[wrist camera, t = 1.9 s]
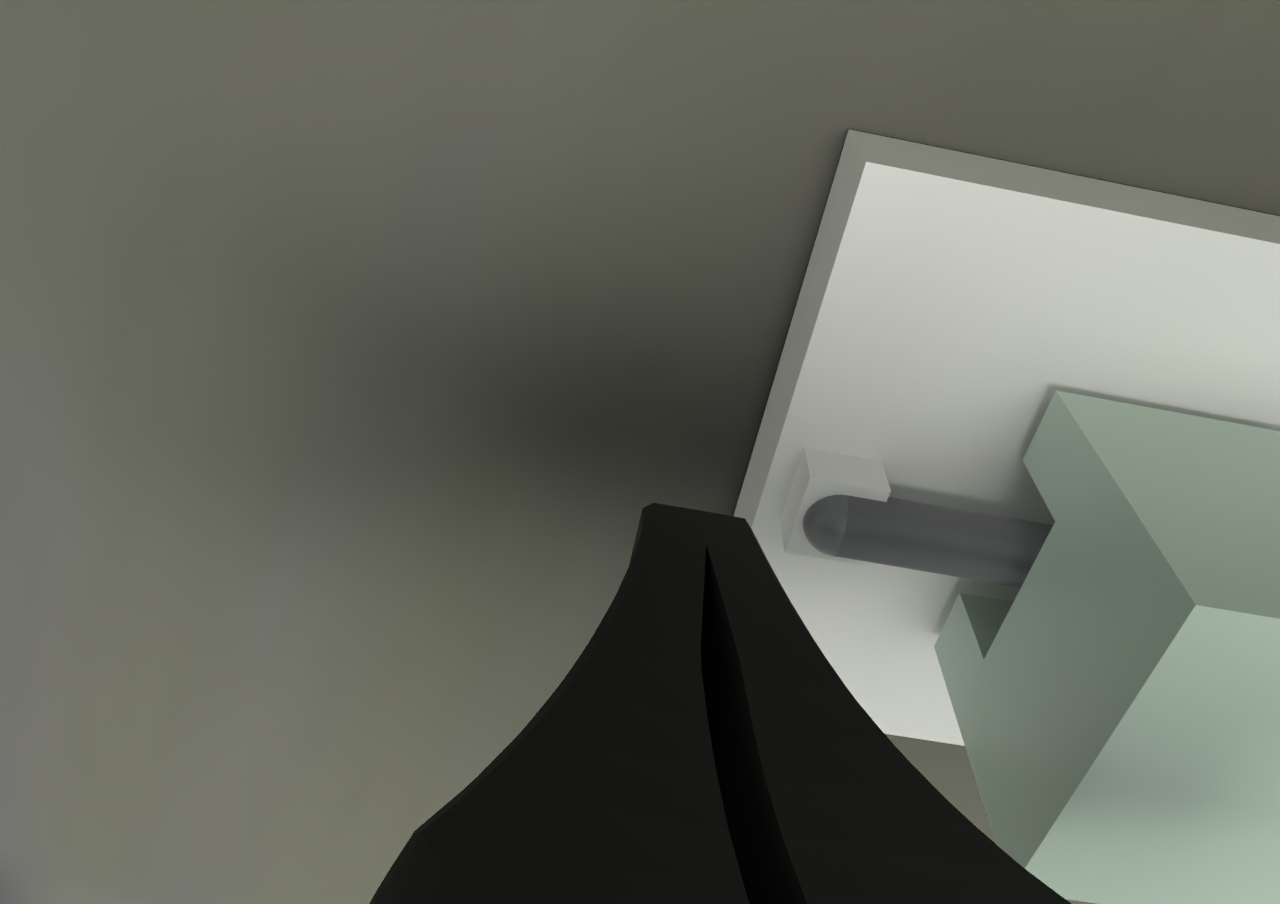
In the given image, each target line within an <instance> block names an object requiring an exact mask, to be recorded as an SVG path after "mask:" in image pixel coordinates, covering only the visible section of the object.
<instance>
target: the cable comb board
mask: <svg viewBox="0 0 1280 904" xmlns="http://www.w3.org/2000/svg"><path fill="white" fill-rule="evenodd" d="M1056 390H1057V391H1063V392H1068V393H1074V394H1079V395H1085V396H1090V397H1095V398H1101V399H1106V400H1112V401H1117V402H1123V403H1128V404H1134V405H1139V406H1144V407H1150V408H1155V409H1161V410H1166V411H1172V412H1177V413H1183V414H1188V415H1193V416H1199V417H1204V418H1210V419H1215V420H1221V421H1226V422H1232V423H1237V424H1242V425H1248V426H1253V427H1259V428H1264V429H1270V430H1275V431H1280V216H1276V215H1271V214H1266V213H1261V212H1256V211H1251V210H1246V209H1241V208H1236V207H1231V206H1226V205H1221V204H1216V203H1211V202H1206V201H1202V200H1197V199H1192V198H1187V197H1182V196H1177V195H1172V194H1167V193H1162V192H1157V191H1152V190H1147V189H1142V188H1137V187H1132V186H1127V185H1122V184H1117V183H1112V182H1107V181H1102V180H1097V179H1093V178H1088V177H1083V176H1078V175H1073V174H1068V173H1063V172H1058V171H1053V170H1048V169H1043V168H1038V167H1033V166H1028V165H1023V164H1018V163H1013V162H1008V161H1003V160H998V159H993V158H988V157H984V156H979V155H974V154H969V153H964V152H959V151H954V150H949V149H944V148H939V147H934V146H929V145H924V144H919V143H914V142H909V141H904V140H899V139H894V138H889V137H884V136H879V135H875V134H870V133H865V132H860V131H855V130H850V129H849V130H848V133H847V137H846V140H845V143H844V147H843V150H842V153H841V157H840V160H839V163H838V167H837V170H836V174H835V177H834V180H833V184H832V187H831V190H830V194H829V197H828V200H827V204H826V207H825V210H824V214H823V217H822V220H821V224H820V227H819V231H818V234H817V237H816V241H815V244H814V247H813V251H812V254H811V257H810V261H809V264H808V267H807V271H806V274H805V278H804V281H803V284H802V288H801V291H800V294H799V298H798V301H797V304H796V308H795V311H794V314H793V318H792V321H791V324H790V328H789V331H788V335H787V338H786V341H785V345H784V348H783V351H782V355H781V358H780V361H779V365H778V368H777V371H776V375H775V378H774V382H773V385H772V388H771V392H770V395H769V398H768V402H767V405H766V408H765V412H764V415H763V418H762V422H761V425H760V428H759V432H758V435H757V439H756V442H755V445H754V449H753V452H752V455H751V459H750V462H749V465H748V469H747V472H746V475H745V479H744V482H743V486H742V489H741V492H740V496H739V499H738V502H737V506H736V509H735V512H734V517H740V518H745V519H746V521H747V522H748V524H749V525H750V527H751V529H752V531H753V533H754V535H755V536H756V538H757V540H758V542H759V544H760V546H761V548H762V550H763V552H764V554H765V556H766V558H767V560H768V562H769V563H770V565H771V567H772V569H773V571H774V573H775V574H776V576H777V578H778V580H779V582H780V584H781V585H782V587H783V589H784V591H785V592H786V594H787V596H788V598H789V599H790V601H791V603H792V605H793V606H794V608H795V609H796V611H797V613H798V614H799V616H800V618H801V619H802V621H803V623H804V624H805V626H806V627H807V629H808V631H809V632H810V634H811V636H812V637H813V639H814V640H815V642H816V643H817V645H818V646H819V648H820V649H821V651H822V653H823V654H824V656H825V657H826V659H827V660H828V661H829V663H830V664H831V666H832V667H833V669H834V670H835V671H836V673H837V674H838V676H839V677H840V679H841V680H842V681H843V683H844V684H845V686H846V687H847V688H848V690H849V691H850V692H851V694H852V695H853V696H854V698H855V699H856V700H857V702H858V703H859V704H860V705H861V707H862V708H863V709H864V710H865V711H866V713H867V714H868V715H869V716H870V717H871V718H872V720H873V721H874V722H875V723H876V724H877V726H878V727H879V728H880V729H881V730H882V732H883V733H884V734H891V735H897V736H904V737H910V738H917V739H923V740H930V741H937V742H943V743H950V744H956V745H963V746H965V745H964V742H963V738H962V735H961V732H960V729H959V726H958V722H957V719H956V716H955V713H954V710H953V706H952V703H951V700H950V697H949V693H948V690H947V687H946V684H945V681H944V677H943V674H942V671H941V668H940V664H939V661H938V658H937V655H936V652H935V648H934V645H935V643H936V641H937V639H938V637H939V635H940V633H941V631H942V628H943V626H944V624H945V622H946V620H947V618H948V616H949V614H950V612H951V610H952V607H953V605H954V603H955V601H956V599H957V597H958V595H959V593H964V594H970V595H976V596H982V597H988V598H994V599H1000V600H1006V601H1012V602H1014V600H1015V598H1016V596H1017V594H1018V592H1019V591H1020V589H1021V587H1022V585H1023V583H1024V581H1025V579H1026V577H1027V575H1028V573H1029V571H1030V569H1031V567H1032V565H1033V563H1034V562H1035V560H1036V558H1037V556H1038V554H1039V552H1040V550H1041V548H1042V546H1043V544H1044V542H1045V540H1046V538H1047V536H1048V534H1049V533H1050V531H1051V529H1052V527H1053V525H1054V523H1055V520H1054V518H1053V517H1052V515H1051V513H1050V511H1049V509H1048V507H1047V505H1046V503H1045V502H1044V500H1043V498H1042V496H1041V494H1040V492H1039V490H1038V488H1037V487H1036V485H1035V483H1034V481H1033V479H1032V477H1031V475H1030V473H1029V472H1028V470H1027V468H1026V466H1025V464H1024V462H1023V458H1024V456H1025V454H1026V452H1027V450H1028V448H1029V445H1030V443H1031V441H1032V439H1033V437H1034V435H1035V433H1036V431H1037V429H1038V426H1039V424H1040V422H1041V420H1042V418H1043V416H1044V414H1045V412H1046V410H1047V408H1048V405H1049V403H1050V401H1051V399H1052V397H1053V395H1054V393H1055V391H1056Z"/></svg>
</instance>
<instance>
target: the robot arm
mask: <svg viewBox="0 0 1280 904" xmlns="http://www.w3.org/2000/svg"><path fill="white" fill-rule="evenodd" d="M370 904H1071V903H1070V902H1068V901H1067V900H1066V899H1064V898H1063V897H1062V896H1060V895H1059V894H1058V893H1056V892H1055V891H1054V890H1052V889H1051V888H1050V887H1048V886H1047V885H1046V884H1044V883H1043V882H1042V881H1040V880H1039V879H1038V878H1037V877H1035V876H1034V875H1033V874H1031V873H1030V872H1029V871H1027V870H1026V869H1025V868H1024V867H1022V866H1021V865H1020V864H1019V863H1017V862H1016V861H1015V860H1014V859H1013V858H1012V857H1010V856H1009V855H1008V854H1007V853H1006V852H1005V851H1003V850H1002V849H1001V848H1000V847H999V846H998V845H996V844H995V843H994V842H993V841H992V840H991V839H989V838H988V837H987V836H986V835H985V834H984V833H983V832H981V831H980V830H979V829H978V828H977V827H976V826H975V825H973V824H972V823H971V822H970V821H969V820H968V819H967V818H966V817H965V816H964V815H963V814H962V813H960V812H959V811H958V810H957V809H956V808H955V807H954V806H953V805H952V804H951V803H950V802H949V801H948V800H947V799H946V798H945V797H944V796H943V795H942V794H941V793H940V792H939V791H938V790H937V789H936V788H935V787H934V786H933V785H932V784H931V783H930V782H929V781H928V780H927V779H926V778H925V777H924V776H923V775H922V774H921V773H920V772H919V771H918V770H917V769H916V768H915V767H914V766H913V765H912V764H911V763H910V762H909V761H908V760H907V759H906V758H905V756H904V755H903V754H902V753H901V752H900V751H899V750H898V749H897V748H896V747H895V746H894V744H893V743H892V742H891V741H890V740H889V739H888V738H887V736H886V735H885V734H884V733H883V732H882V730H881V729H880V728H879V727H878V726H877V724H876V723H875V722H874V721H873V720H872V718H871V717H870V716H869V715H868V714H867V713H866V711H865V710H864V709H863V708H862V707H861V705H860V704H859V703H858V702H857V700H856V699H855V698H854V696H853V695H852V694H851V692H850V691H849V690H848V688H847V687H846V686H845V684H844V683H843V681H842V680H841V679H840V677H839V676H838V674H837V673H836V671H835V670H834V669H833V667H832V666H831V664H830V663H829V661H828V660H827V659H826V657H825V656H824V654H823V653H822V651H821V649H820V648H819V646H818V645H817V643H816V642H815V640H814V639H813V637H812V636H811V634H810V632H809V631H808V629H807V627H806V626H805V624H804V623H803V621H802V619H801V618H800V616H799V614H798V613H797V611H796V609H795V608H794V606H793V605H792V603H791V601H790V599H789V598H788V596H787V594H786V592H785V591H784V589H783V587H782V585H781V584H780V582H779V580H778V578H777V576H776V574H775V573H774V571H773V569H772V567H771V565H770V563H769V562H768V560H767V558H766V556H765V554H764V552H763V550H762V548H761V546H760V544H759V542H758V540H757V538H756V536H755V535H754V533H753V531H752V529H751V527H750V525H749V524H748V522H747V521H746V519H745V518H740V517H734V516H728V515H722V514H716V513H710V512H704V511H698V510H692V509H687V508H681V507H675V506H669V505H663V504H657V503H652V504H650V505H648V506H646V507H645V508H643V510H642V514H641V518H640V522H639V527H638V531H637V535H636V539H635V544H634V548H633V552H632V556H631V561H630V565H629V568H628V570H627V572H626V575H625V577H624V579H623V581H622V583H621V585H620V587H619V590H618V592H617V594H616V596H615V598H614V600H613V602H612V604H611V606H610V607H609V609H608V611H607V613H606V614H605V616H604V618H603V619H602V621H601V623H600V625H599V626H598V628H597V630H596V631H595V633H594V635H593V637H592V638H591V640H590V642H589V643H588V645H587V646H586V648H585V649H584V651H583V652H582V654H581V655H580V657H579V658H578V660H577V661H576V663H575V664H574V666H573V667H572V669H571V670H570V671H569V673H568V674H567V675H566V677H565V678H564V680H563V681H562V682H561V684H560V685H559V686H558V688H557V689H556V690H555V692H554V693H553V694H552V695H551V696H550V698H549V699H548V700H547V701H546V703H545V704H544V705H543V706H542V708H541V709H540V710H539V711H538V713H537V714H536V715H535V716H534V717H533V719H532V720H531V721H530V722H529V723H528V724H527V726H526V727H525V728H524V729H523V730H522V731H521V732H520V733H519V735H518V736H517V737H516V738H515V739H514V740H513V741H512V742H511V743H510V744H509V745H508V746H507V747H506V748H505V749H504V750H503V751H502V752H501V753H500V754H499V755H498V756H497V757H496V758H495V759H494V760H493V761H492V762H491V763H490V764H489V765H488V766H487V767H486V768H485V769H484V770H483V771H482V773H481V774H480V775H479V776H478V777H477V778H476V779H474V780H473V781H472V782H471V783H470V784H469V785H468V786H467V787H466V788H465V789H464V790H463V791H461V792H460V793H459V794H458V795H457V796H455V797H454V798H453V799H452V800H451V801H450V802H448V803H447V804H446V805H445V806H444V807H443V808H441V809H440V810H439V811H438V812H437V813H435V814H434V815H433V816H432V817H431V818H430V819H428V820H427V821H426V822H425V823H424V824H422V825H421V826H420V827H419V828H418V829H417V830H415V831H414V833H413V835H412V836H411V838H410V839H409V841H408V842H407V844H406V845H405V847H404V848H403V850H402V851H401V853H400V855H399V856H398V858H397V859H396V861H395V862H394V864H393V865H392V867H391V868H390V870H389V872H388V873H387V875H386V877H385V878H384V880H383V881H382V883H381V885H380V886H379V888H378V890H377V891H376V893H375V895H374V896H373V898H372V900H371V902H370Z"/></svg>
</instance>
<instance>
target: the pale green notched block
mask: <svg viewBox="0 0 1280 904" xmlns="http://www.w3.org/2000/svg"><path fill="white" fill-rule="evenodd" d="M1023 462H1024V464H1025V466H1026V468H1027V470H1028V472H1029V473H1030V475H1031V477H1032V479H1033V481H1034V483H1035V485H1036V487H1037V488H1038V490H1039V492H1040V494H1041V496H1042V498H1043V500H1044V502H1045V503H1046V505H1047V507H1048V509H1049V511H1050V513H1051V515H1052V517H1053V518H1054V520H1055V523H1054V525H1053V527H1052V529H1051V531H1050V533H1049V534H1048V536H1047V538H1046V540H1045V542H1044V544H1043V546H1042V548H1041V550H1040V552H1039V554H1038V556H1037V558H1036V560H1035V562H1034V563H1033V565H1032V567H1031V569H1030V571H1029V573H1028V575H1027V577H1026V579H1025V581H1024V583H1023V585H1022V587H1021V589H1020V591H1019V592H1018V594H1017V596H1016V598H1015V600H1014V602H1012V601H1006V600H1000V599H994V598H988V597H982V596H976V595H970V594H964V593H959V595H958V597H957V599H956V601H955V603H954V605H953V607H952V610H951V612H950V614H949V616H948V618H947V620H946V622H945V624H944V626H943V628H942V631H941V633H940V635H939V637H938V639H937V641H936V643H935V645H934V648H935V652H936V655H937V658H938V661H939V664H940V668H941V671H942V674H943V677H944V681H945V684H946V687H947V690H948V693H949V697H950V700H951V703H952V706H953V710H954V713H955V716H956V719H957V722H958V726H959V729H960V732H961V735H962V738H963V742H964V745H965V748H966V751H967V755H968V758H969V761H970V764H971V767H972V771H973V774H974V777H975V780H976V784H977V787H978V790H979V793H980V796H981V800H982V803H983V806H984V809H985V812H986V816H987V819H988V822H989V825H990V829H991V832H992V835H993V838H994V841H995V844H996V845H998V846H999V847H1000V848H1001V849H1002V850H1003V851H1005V852H1006V853H1007V854H1008V855H1009V856H1010V857H1012V858H1013V859H1014V860H1015V861H1016V862H1017V863H1019V864H1020V865H1021V866H1022V867H1024V868H1025V869H1026V870H1027V871H1029V872H1030V873H1031V874H1033V875H1034V876H1035V877H1037V878H1038V879H1039V880H1040V881H1042V882H1043V883H1044V884H1046V885H1047V886H1048V887H1050V888H1051V889H1052V890H1054V891H1055V892H1056V893H1058V894H1059V895H1060V896H1062V897H1063V898H1064V899H1068V900H1075V901H1082V902H1089V903H1096V904H1280V431H1275V430H1270V429H1264V428H1259V427H1253V426H1248V425H1242V424H1237V423H1232V422H1226V421H1221V420H1215V419H1210V418H1204V417H1199V416H1193V415H1188V414H1183V413H1177V412H1172V411H1166V410H1161V409H1155V408H1150V407H1144V406H1139V405H1134V404H1128V403H1123V402H1117V401H1112V400H1106V399H1101V398H1095V397H1090V396H1085V395H1079V394H1074V393H1068V392H1063V391H1057V390H1056V391H1055V393H1054V395H1053V397H1052V399H1051V401H1050V403H1049V405H1048V408H1047V410H1046V412H1045V414H1044V416H1043V418H1042V420H1041V422H1040V424H1039V426H1038V429H1037V431H1036V433H1035V435H1034V437H1033V439H1032V441H1031V443H1030V445H1029V448H1028V450H1027V452H1026V454H1025V456H1024V458H1023Z"/></svg>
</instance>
